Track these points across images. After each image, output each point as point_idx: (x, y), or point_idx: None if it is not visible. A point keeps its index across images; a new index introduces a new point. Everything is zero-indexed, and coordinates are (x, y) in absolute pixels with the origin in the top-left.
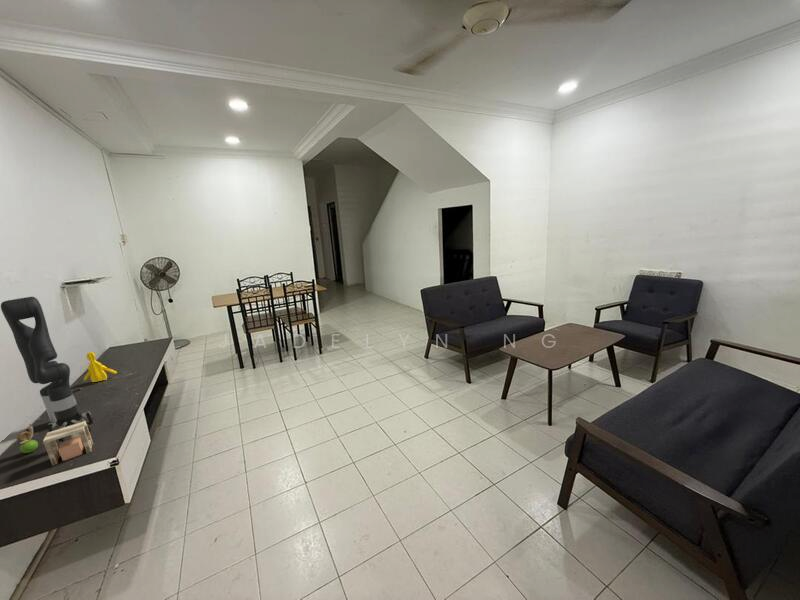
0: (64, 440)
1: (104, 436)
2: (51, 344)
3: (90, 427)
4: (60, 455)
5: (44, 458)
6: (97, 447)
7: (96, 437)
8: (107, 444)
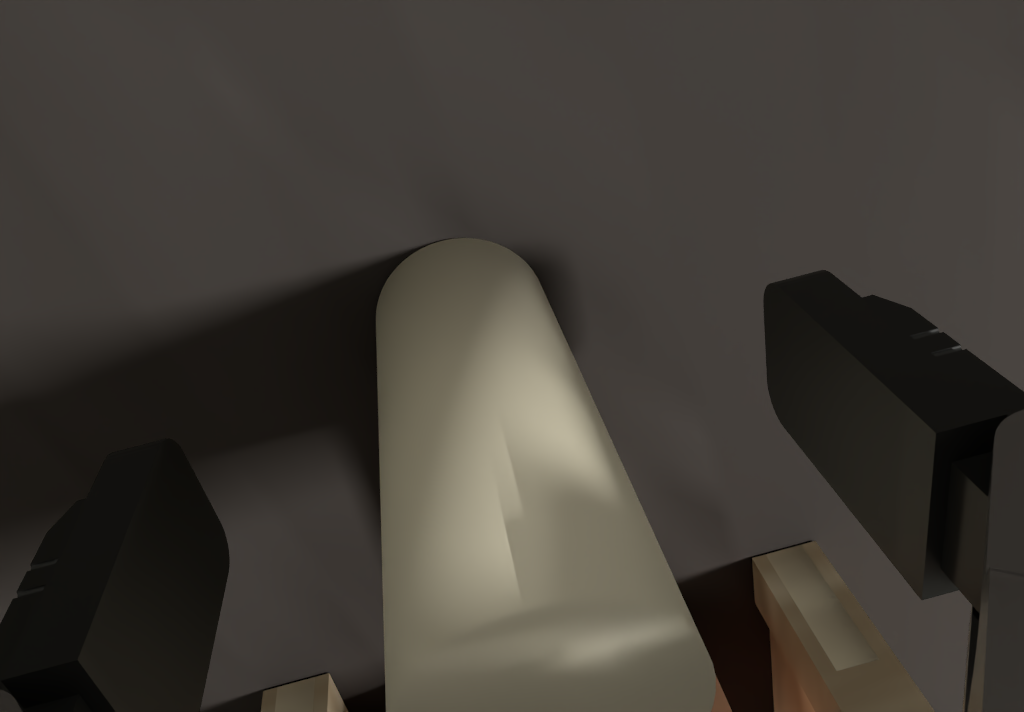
0: (185, 467)
1: (989, 358)
2: None
3: (964, 350)
4: (339, 700)
5: None
6: None
7: None
8: None
